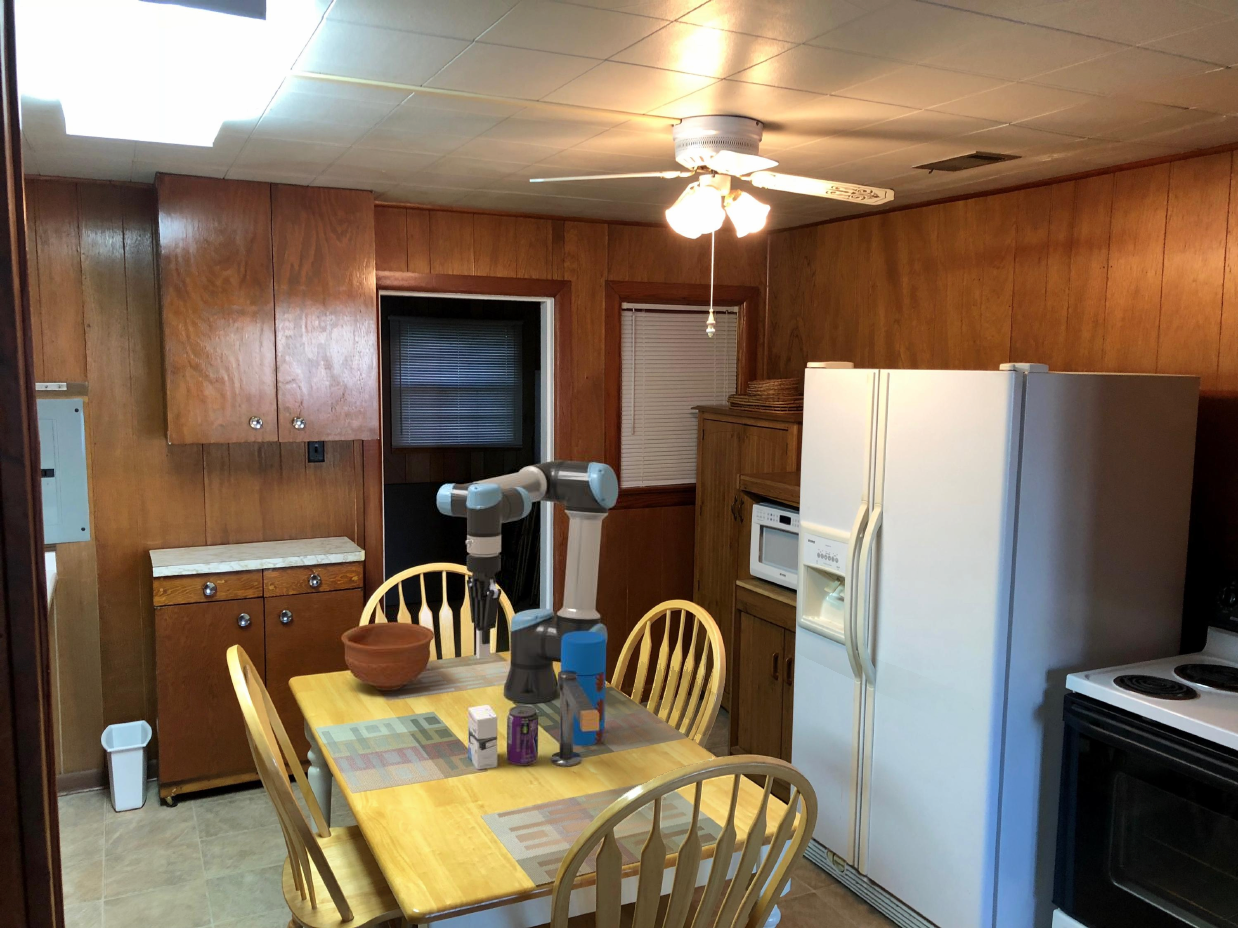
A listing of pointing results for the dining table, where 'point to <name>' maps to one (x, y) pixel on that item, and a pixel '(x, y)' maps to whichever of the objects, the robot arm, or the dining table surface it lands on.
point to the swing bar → (578, 700)
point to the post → (566, 737)
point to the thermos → (587, 676)
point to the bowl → (387, 653)
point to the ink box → (482, 736)
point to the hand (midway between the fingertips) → (483, 656)
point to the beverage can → (522, 735)
